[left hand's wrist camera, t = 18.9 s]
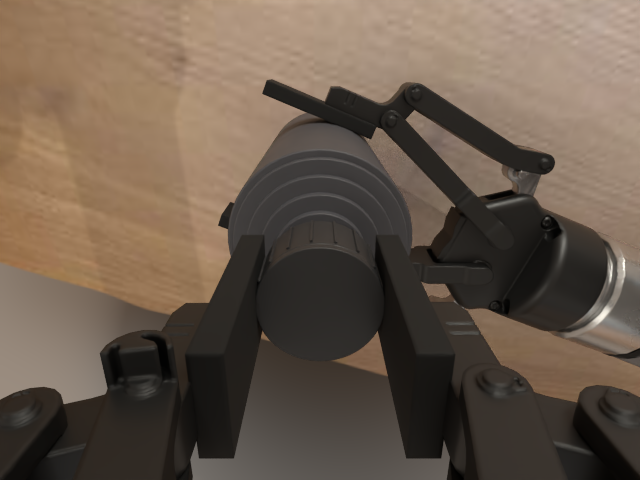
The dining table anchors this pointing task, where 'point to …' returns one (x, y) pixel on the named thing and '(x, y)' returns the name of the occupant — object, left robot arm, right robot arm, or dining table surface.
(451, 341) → the left robot arm
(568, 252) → the right robot arm
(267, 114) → the dining table surface
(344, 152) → the bottle
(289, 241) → the cap
